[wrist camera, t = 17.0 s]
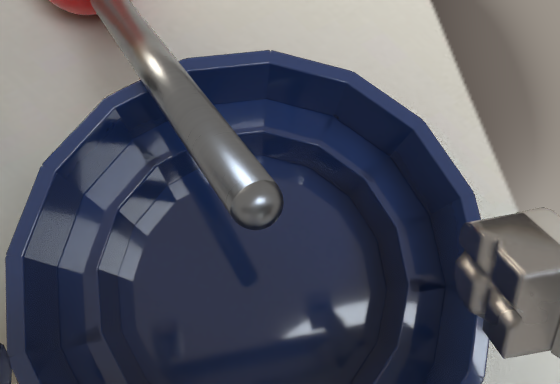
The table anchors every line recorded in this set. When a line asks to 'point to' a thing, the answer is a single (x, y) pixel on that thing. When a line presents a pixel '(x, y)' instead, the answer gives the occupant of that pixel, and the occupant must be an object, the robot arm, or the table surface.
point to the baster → (190, 115)
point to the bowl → (246, 243)
